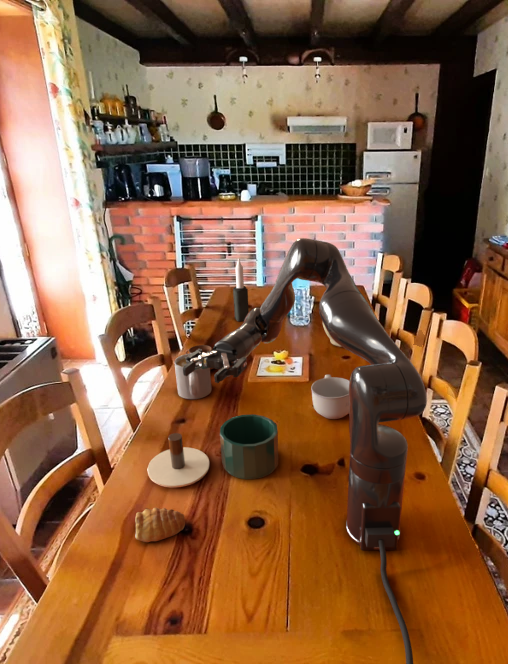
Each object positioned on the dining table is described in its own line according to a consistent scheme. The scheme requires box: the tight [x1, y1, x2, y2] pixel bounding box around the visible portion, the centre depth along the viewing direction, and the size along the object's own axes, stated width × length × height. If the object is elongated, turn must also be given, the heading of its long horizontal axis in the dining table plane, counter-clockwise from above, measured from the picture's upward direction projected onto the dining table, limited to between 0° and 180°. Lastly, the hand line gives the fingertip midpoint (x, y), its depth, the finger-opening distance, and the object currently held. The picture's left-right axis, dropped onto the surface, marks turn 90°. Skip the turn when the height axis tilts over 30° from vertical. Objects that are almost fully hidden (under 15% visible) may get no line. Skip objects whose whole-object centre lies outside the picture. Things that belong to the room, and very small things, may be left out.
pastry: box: [134, 507, 186, 543], centre depth 91 cm, size 9×7×4 cm
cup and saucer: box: [185, 344, 215, 371], centre depth 156 cm, size 12×12×6 cm
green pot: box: [219, 413, 279, 480], centre depth 108 cm, size 13×13×8 cm
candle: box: [232, 258, 250, 322], centre depth 192 cm, size 5×5×25 cm
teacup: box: [310, 374, 350, 420], centre depth 126 cm, size 14×11×8 cm
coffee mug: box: [174, 352, 213, 400], centre depth 139 cm, size 13×10×10 cm
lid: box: [146, 432, 210, 488], centre depth 107 cm, size 14×14×9 cm
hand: (199, 375), depth 110 cm, fingers open, 8 cm apart
